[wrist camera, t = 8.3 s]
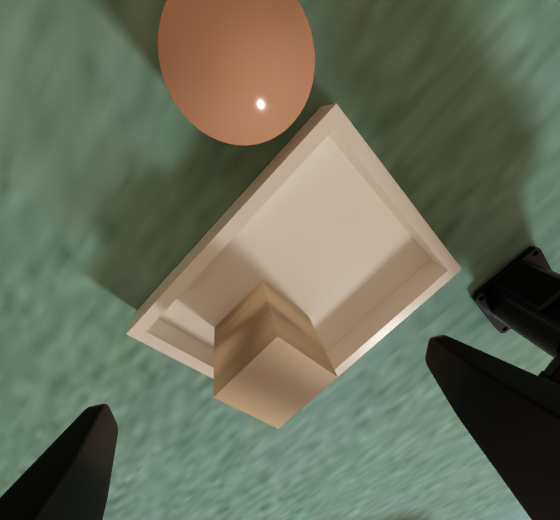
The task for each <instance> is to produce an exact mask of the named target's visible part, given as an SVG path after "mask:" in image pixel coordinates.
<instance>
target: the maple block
mask: <svg viewBox="0 0 560 520" xmlns="http://www.w3.org/2000/svg"><path fill="white" fill-rule="evenodd" d="M336 378H337V374H336V372H335V370H334V368H333V366H332V364H331V362H330V360H329V358H328V356H327V354H326V352H325V349H324V347H323V345H322V343H321V341H320V339H319V337H318V335H317V333H316V331H315V329H314V326H313V324H312V322H311V320H310V318H309V316H308V315H306V314H305V313H304V312H302V311H301V310H300V309H298V308H297V307H296V306H295V305H293V304H292V303H291V302H289V301H288V300H287V299H285V298H284V297H283V296H281V295H280V294H279V293H278V292H276V291H275V290H274V289H272V288H271V287H270V286H268V285H267V284H266V283H265V282H263V281H262V280H261V281H260V282H259V283H258V284H257V285H256V286H255V287H254V288H253V289H252V290H251V291H250V292H249V293H248V294H247V295H246V296H245V297H244V298H243V299H242V301H241V302H240V303H239V304H238V305H237V306H236V307H235V308H234V309H233V310H232V311H231V312H230V313H229V314H228V315H227V316H226V317H225V318H224V319H223V320H222V321H221V322H220V323H219V324H218V325H217V326H216V327H215V328H214V382H213V397H214V398H216V399H218V400H220V401H222V402H224V403H226V404H228V405H230V406H232V407H234V408H236V409H239V410H241V411H243V412H245V413H247V414H249V415H251V416H253V417H255V418H257V419H259V420H261V421H263V422H265V423H267V424H270V425H272V426H274V427H276V428H279V427H281V426H282V425H283V424H284V423H285V422H286V421H288V420H289V419H290V418H291V417H292V416H293V415H295V414H296V413H297V412H298V411H299V410H300V409H301V408H303V407H304V406H305V405H306V404H307V403H308V402H310V401H311V400H312V399H313V398H314V397H315V396H317V395H318V394H319V393H320V392H321V391H322V390H324V389H325V388H326V387H327V386H328V385H329V384H331V383H332V382H333V381H334V380H335V379H336Z"/></svg>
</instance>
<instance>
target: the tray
mask: <svg viewBox="0 0 560 520" xmlns="http://www.w3.org/2000/svg"><path fill="white" fill-rule="evenodd" d="M461 270H462V269H461V267H460V266H459V265H458V263H457V262H456V261H455V259H454V258H453V257H452V255H451V254H450V253H449V252H448V250H447V249H446V248H445V246H444V245H443V244H442V242H441V241H440V240H439V238H438V237H437V236H436V234H435V233H434V232H433V230H432V229H431V228H430V226H429V225H428V224H427V222H426V221H425V220H424V218H423V217H422V216H421V215H420V213H419V212H418V211H417V209H416V208H415V207H414V205H413V204H412V203H411V201H410V200H409V199H408V197H407V196H406V195H405V193H404V192H403V191H402V189H401V188H400V187H399V185H398V184H397V183H396V181H395V180H394V179H393V178H392V176H391V175H390V174H389V172H388V171H387V170H386V168H385V167H384V166H383V164H382V163H381V162H380V160H379V159H378V158H377V156H376V155H375V154H374V152H373V151H372V150H371V148H370V147H369V146H368V144H367V143H366V142H365V140H364V139H363V138H362V137H361V135H360V134H359V133H358V131H357V130H356V129H355V127H354V126H353V125H352V123H351V122H350V121H349V119H348V118H347V117H346V115H345V114H344V113H343V111H342V110H341V109H340V107H339V106H338V105H337V103H336V104H331V105H326V106H321V107H320V108H319V109H318V110H317V111H316V112H315V113H314V114H313V115H312V117H311V118H310V119H309V120H308V121H307V122H306V123H305V124H304V125H303V127H302V128H301V129H300V130H299V131H298V132H297V133H296V134H295V135H294V137H293V138H292V139H291V140H290V141H289V142H288V143H287V144H286V145H285V147H284V148H283V149H282V150H281V151H280V152H279V153H278V154H277V155H276V157H275V158H274V159H273V160H272V161H271V162H270V163H269V164H268V165H267V167H266V168H265V169H264V170H263V171H262V172H261V173H260V174H259V175H258V177H257V178H256V179H255V180H254V181H253V182H252V183H251V184H250V185H249V187H248V188H247V189H246V190H245V191H244V192H243V193H242V194H241V195H240V196H239V198H238V199H237V200H236V201H235V202H234V203H233V204H232V205H231V206H230V208H229V209H228V210H227V211H226V212H225V213H224V214H223V215H222V216H221V218H220V219H219V220H218V221H217V222H216V223H215V224H214V225H213V226H212V228H211V229H210V230H209V231H208V232H207V233H206V234H205V235H204V236H203V238H202V239H201V240H200V241H199V242H198V243H197V244H196V245H195V246H194V248H193V249H192V250H191V251H190V252H189V253H188V254H187V255H186V256H185V258H184V259H183V260H182V261H181V262H180V263H179V264H178V265H177V266H176V267H175V269H174V270H173V271H172V272H171V273H170V274H169V275H168V276H167V277H166V279H165V280H164V281H163V282H162V283H161V284H160V285H159V286H158V287H157V289H156V290H155V291H154V292H153V293H152V294H151V295H150V296H149V297H148V299H147V300H146V301H145V302H144V303H143V304H142V305H141V306H140V307H139V309H138V310H137V311H136V313H135V315H134V318H133V320H132V322H131V324H130V327H129V329H128V331H127V333H126V334H127V335H129V336H131V337H133V338H135V339H137V340H139V341H141V342H143V343H145V344H147V345H148V346H150V347H152V348H154V349H156V350H158V351H160V352H162V353H164V354H166V355H168V356H170V357H172V358H174V359H176V360H178V361H180V362H182V363H184V364H185V365H187V366H189V367H191V368H193V369H195V370H197V371H199V372H201V373H203V374H205V375H207V376H209V377H211V378H213V379H214V328H215V327H216V326H217V325H218V324H219V323H220V322H221V321H222V320H223V319H224V318H225V317H226V316H227V315H228V314H229V313H230V312H231V311H232V310H233V309H234V308H235V307H236V306H237V305H238V304H239V303H240V302H241V301H242V299H243V298H244V297H245V296H246V295H247V294H248V293H249V292H250V291H251V290H252V289H253V288H254V287H255V286H256V285H257V284H258V283H259V282H260V281H261V280H262V281H263V282H265V283H266V284H267V285H268V286H270V287H271V288H272V289H274V290H275V291H276V292H278V293H279V294H280V295H281V296H283V297H284V298H285V299H287V300H288V301H289V302H291V303H292V304H293V305H295V306H296V307H297V308H298V309H300V310H301V311H302V312H304V313H305V314H306V315H308V316H309V318H310V320H311V322H312V324H313V326H314V329H315V331H316V333H317V335H318V337H319V339H320V341H321V343H322V345H323V347H324V349H325V352H326V354H327V356H328V358H329V360H330V362H331V364H332V366H333V368H334V370H335V372H336V374H337V377H338V376H339V375H340V374H342V373H343V372H344V371H345V370H346V369H347V368H349V367H350V366H351V365H352V364H353V363H354V362H355V361H357V360H358V359H359V358H360V357H361V356H362V355H364V354H365V353H366V352H367V351H368V350H369V349H370V348H372V347H373V346H374V345H375V344H376V343H377V342H379V341H380V340H381V339H382V338H383V337H384V336H385V335H387V334H388V333H389V332H390V331H391V330H392V329H394V328H395V327H396V326H397V325H398V324H399V323H400V322H402V321H403V320H404V319H405V318H406V317H407V316H409V315H410V314H411V313H412V312H413V311H414V310H415V309H417V308H418V307H419V306H420V305H421V304H422V303H424V302H425V301H426V300H427V299H428V298H429V297H430V296H432V295H433V294H434V293H435V292H436V291H437V290H439V289H440V288H441V287H442V286H443V285H444V284H446V283H447V282H448V281H449V280H450V279H451V278H452V277H454V276H455V275H456V274H457V273H458V272H459V271H461Z"/></svg>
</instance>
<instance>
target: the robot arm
mask: <svg viewBox="0 0 560 520" xmlns="http://www.w3.org/2000/svg"><path fill="white" fill-rule="evenodd" d="M473 300H474V301H475V303H476V304H477V305H478V307H479V308H480V309H481V310H482V312H483V313H484V314H485V315H486V317H487V318H488V319H489V320H490V322H491V323H492V324H493V326H494V327H495V328H496V329H497V330H498V331H499V332H501V333H505V332H507V331H508V330H509V329H513V330H514V331H516V332H517V333H519V334H520V335H522V336H523V337H524V338H526V339H527V340H529V341H530V342H532V343H533V344H535V345H536V346H538V347H539V348H540V349H542V350H543V351H545V352H546V353H548V354H549V355H551V356H552V357H554V359H553V360H552V361H551V363H550V364H549V365H548V366H547V368H546V369H545V370H544V371H541V373H540V374H539V375H538V376H537V375H534V374H532V373H530V372H527V371H525V370H523V369H521V368H518V367H516V366H514V365H512V364H509V363H507V362H505V361H503V360H500V359H498V358H496V357H494V356H491V355H489V354H487V353H484V352H482V351H480V350H478V349H475V348H473V347H471V346H469V345H466V344H464V343H462V342H460V341H457V340H455V339H453V338H451V337H448V336H446V335H439V336H434V337H431V338H430V339H429V342H428V347H427V352H426V357H425V359H426V364H427V366H428V368H429V369H430V371H431V373H432V375H433V376H434V378H435V380H436V381H437V383H438V385H439V386H440V388H441V390H442V391H443V393H444V395H445V396H446V398H447V400H448V402H449V403H450V405H451V407H452V408H453V410H454V411H455V413H456V414H457V416H458V417H459V419H460V420H461V422H462V423H463V425H464V426H465V427H466V429H467V430H468V432H469V433H470V434H471V436H472V437H473V439H474V440H475V441H476V443H477V444H478V445H479V447H480V448H481V450H482V451H483V452H484V454H485V455H486V457H487V458H488V459H489V461H490V462H491V464H492V465H493V466H494V468H495V469H496V471H497V472H498V473H499V475H500V476H501V478H502V479H503V480H504V482H505V483H506V484H507V486H508V487H509V489H510V490H511V491H512V493H513V494H514V496H515V497H516V498H517V500H518V501H519V503H520V504H521V505H522V507H523V508H524V510H525V511H526V512H527V514H528V515H529V517H530V518H531V519H532V520H560V274H558V273H556V272H553V271H552V270H551V268H550V266H549V264H548V262H547V261H546V259H545V257H544V255H543V253H542V251H541V249H540V248H538V247H535V246H532V247H530V248H528V249H527V250H526V251H525V252H524V253H522V254H521V255H520V256H519V257H518V258H516V259H515V260H514V261H513V262H512V263H510V264H509V265H508V266H507V267H506V268H505V269H503V270H502V271H501V272H500V273H499V274H497V275H496V276H495V277H494V278H493V279H491V280H490V281H489V282H488V283H487V284H485V285H484V286H483V287H482V288H481V289H480V290H478V291H477V292H476V293H475V294H474V295H473ZM117 435H118V426H117V423H116V421H115V419H114V416H113V414H112V412H111V410H110V408H109V406H108V405H107V404H100V405H95V406H90V407H88V408H87V409H85V410H84V411H83V412H82V413H81V414H80V415H79V416H78V418H77V419H76V420H75V421H74V422H73V423H72V424H71V425H70V426H69V427H68V428H67V429H66V430H65V431H64V432H63V433H62V434H61V435H60V436H59V437H58V438H57V439H56V440H55V441H54V442H53V443H52V445H51V446H50V447H49V448H48V449H47V450H46V451H45V452H44V453H43V454H42V455H41V456H40V457H39V458H38V459H37V460H36V461H35V462H34V463H33V464H32V465H31V466H30V467H29V468H28V469H27V470H26V471H25V473H24V474H23V475H22V476H21V477H20V478H19V479H18V480H17V481H16V482H15V483H14V484H13V485H12V486H11V487H10V488H9V489H8V490H7V491H6V492H5V493H4V494H3V495H2V496H1V497H0V520H102V519H103V515H104V511H105V506H106V502H107V496H108V491H109V485H110V479H111V472H112V466H113V460H114V454H115V448H116V441H117Z"/></svg>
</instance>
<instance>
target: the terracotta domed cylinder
mask: <svg viewBox="0 0 560 520" xmlns="http://www.w3.org/2000/svg"><path fill="white" fill-rule="evenodd" d="M158 54H159V62H160V66H161V71H162V75H163V78H164V81H165V84H166V86H167V88H168V91H169V93H170V95H171V97H172V98H173V100H174V102H175V104H176V105H177V107H178V108H179V109H180V111H181V112H182V113H183V115H184V116H185V117H186V118H187V119H188V120H189V121H190V122H191V123H192V124H193V125H194V126H195V127H197V128H198V129H199V130H200V131H202V132H203V133H205V134H206V135H208V136H210V137H212V138H214V139H216V140H218V141H221V142H224V143H228V144H233V145H255V144H259V143H263V142H266V141H268V140H271V139H273V138H275V137H276V136H278V135H280V134H281V133H282V132H284V131H285V130H286V129H287V128H288V127H289V126H290V125H291V124H292V123H293V122H294V121H295V120H296V118H297V117H298V116H299V114H300V113H301V111H302V109H303V108H304V106H305V104H306V102H307V99H308V97H309V94H310V91H311V88H312V83H313V78H314V70H315V51H314V42H313V37H312V33H311V29H310V26H309V23H308V20H307V17H306V15H305V13H304V11H303V9H302V7H301V5H300V3H299V2H298V0H167V1H166V4H165V6H164V8H163V12H162V15H161V19H160V24H159V31H158Z"/></svg>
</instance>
